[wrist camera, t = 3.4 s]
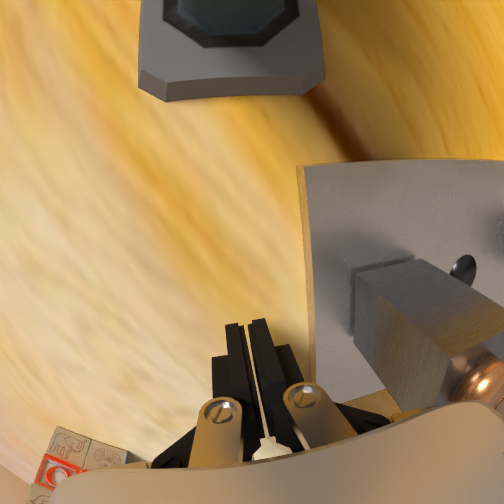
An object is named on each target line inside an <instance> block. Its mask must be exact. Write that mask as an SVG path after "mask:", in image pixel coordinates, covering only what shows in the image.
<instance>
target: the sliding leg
mask: <svg viewBox="0 0 504 504" xmlns="http://www.w3.org/2000/svg"><path fill="white" fill-rule="evenodd" d="M353 343H354V344H355V346H356V347H357V349H358V350H359V351H360V353H361V354H362V356H363V357H364V358H365V360H366V361H367V362H368V364H369V365H370V367H371V368H372V369H373V371H374V372H375V374H376V375H377V376H378V378H379V379H380V381H381V382H382V383H383V385H384V386H385V388H386V389H387V390H388V392H389V393H390V395H391V396H392V398H393V399H394V400H395V402H396V403H397V405H398V406H399V408H400V409H401V410H402V412H407V411H412V410H416V409H421V408H425V407H429V406H433V405H439V404H442V405H443V404H447V403H450V402H456V401H463V400H477V401H481V402H484V403H486V404H488V405H489V406H491V407H492V408H493V407H494V406H495V405H496V404H497V403H498V402H499V400H500V399H501V398H502V396H503V395H504V308H503V307H502V306H500V305H499V304H497V303H496V302H494V301H493V300H491V299H489V298H488V297H486V296H485V295H483V294H481V293H480V292H478V291H476V290H475V289H473V288H472V287H470V286H468V285H467V284H465V283H463V282H462V281H460V280H458V279H457V278H455V277H453V276H451V275H450V274H448V273H446V272H444V271H443V270H441V269H439V268H437V267H436V266H434V265H432V264H430V263H429V262H427V261H425V260H423V259H417V260H413V261H408V262H404V263H399V264H395V265H390V266H386V267H381V268H377V269H372V270H367V271H363V272H358V273H355V316H354V338H353Z"/></svg>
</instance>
